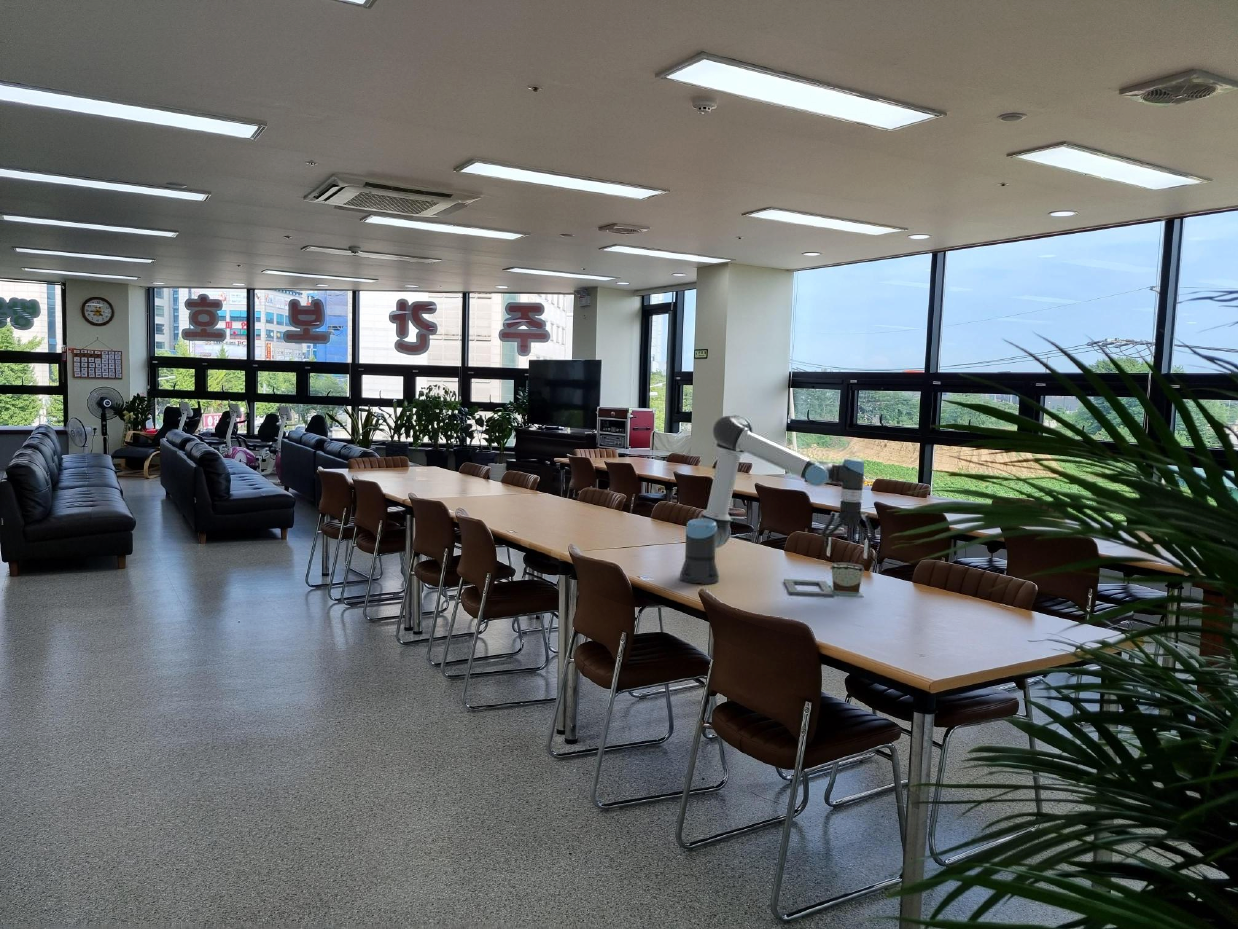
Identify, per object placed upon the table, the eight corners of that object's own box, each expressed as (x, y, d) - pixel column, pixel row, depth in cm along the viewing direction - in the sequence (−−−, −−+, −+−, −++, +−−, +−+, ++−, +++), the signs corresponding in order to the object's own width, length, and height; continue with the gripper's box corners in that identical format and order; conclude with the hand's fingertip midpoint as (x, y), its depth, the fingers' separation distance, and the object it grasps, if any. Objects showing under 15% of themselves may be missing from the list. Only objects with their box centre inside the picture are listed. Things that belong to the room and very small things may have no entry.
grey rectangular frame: (789, 594, 310) (789, 591, 310) (783, 581, 332) (783, 578, 332) (834, 597, 309) (834, 594, 308) (825, 584, 330) (825, 581, 330)
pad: (835, 595, 311) (835, 594, 311) (829, 585, 327) (829, 584, 327) (863, 597, 310) (863, 596, 310) (855, 587, 326) (855, 586, 326)
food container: (862, 589, 321) (863, 563, 320) (863, 593, 315) (864, 566, 314) (828, 587, 323) (830, 561, 322) (829, 590, 317) (830, 564, 316)
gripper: (818, 499, 313) (814, 556, 315) (887, 504, 311) (882, 560, 313) (815, 497, 321) (811, 552, 323) (883, 501, 319) (878, 557, 321)
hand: (846, 556), depth 318 cm, fingers open, 13 cm apart
